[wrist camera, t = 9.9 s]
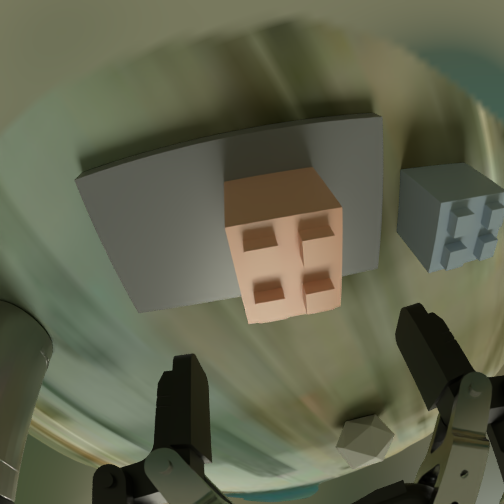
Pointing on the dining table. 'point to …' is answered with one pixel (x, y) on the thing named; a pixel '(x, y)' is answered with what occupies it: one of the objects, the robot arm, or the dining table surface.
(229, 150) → the baseplate
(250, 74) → the dining table surface
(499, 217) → the brick slate
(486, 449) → the robot arm
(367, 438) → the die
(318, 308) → the brick terracotta
